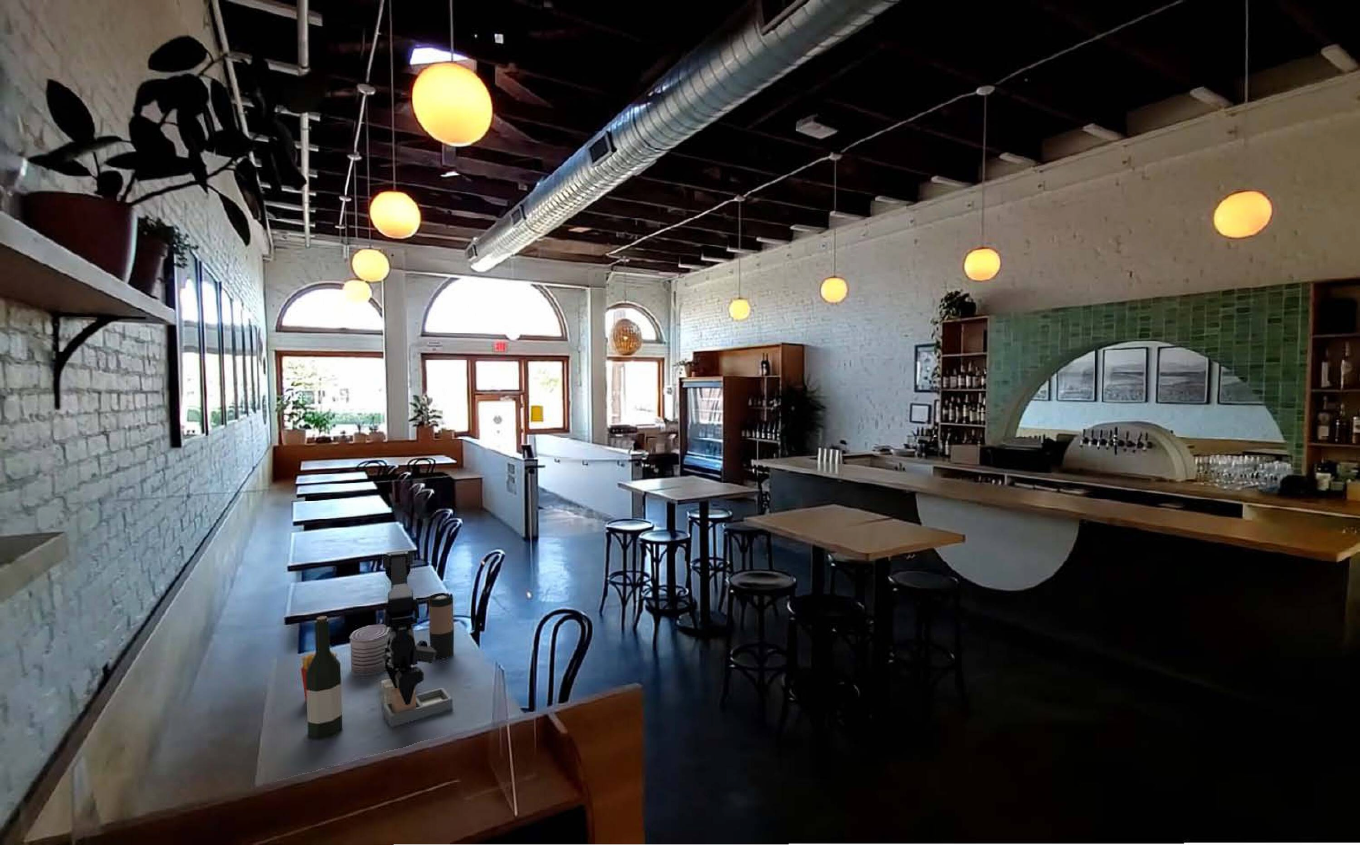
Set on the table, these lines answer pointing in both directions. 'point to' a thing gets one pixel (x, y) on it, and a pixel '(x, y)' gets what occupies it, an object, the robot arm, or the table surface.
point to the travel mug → (441, 624)
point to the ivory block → (387, 690)
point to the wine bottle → (323, 687)
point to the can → (368, 649)
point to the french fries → (304, 668)
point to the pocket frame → (420, 707)
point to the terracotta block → (401, 702)
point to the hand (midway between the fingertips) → (403, 697)
